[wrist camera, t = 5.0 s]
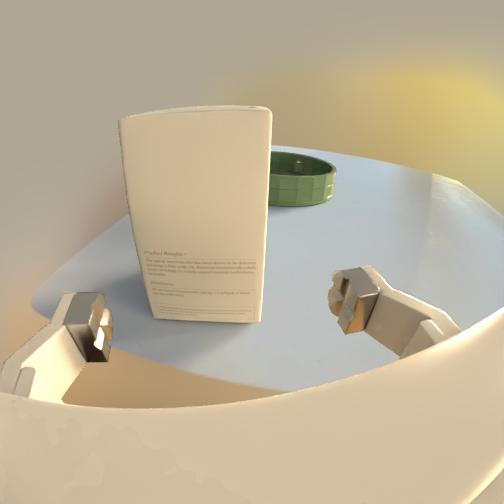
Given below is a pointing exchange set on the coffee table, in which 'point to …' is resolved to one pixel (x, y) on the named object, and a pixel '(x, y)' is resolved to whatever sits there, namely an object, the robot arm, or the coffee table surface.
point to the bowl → (299, 180)
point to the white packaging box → (199, 208)
